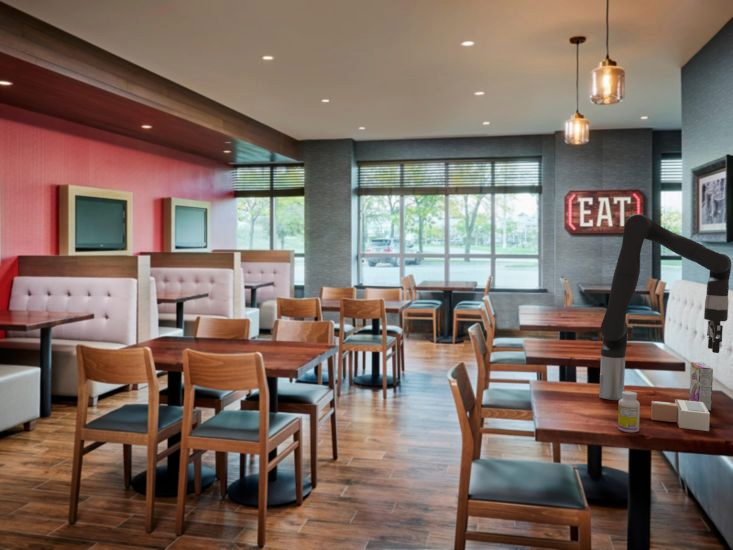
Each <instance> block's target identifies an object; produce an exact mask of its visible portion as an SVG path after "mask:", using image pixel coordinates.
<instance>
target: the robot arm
mask: <svg viewBox="0 0 733 550" xmlns="http://www.w3.org/2000/svg"><path fill="white" fill-rule="evenodd" d="M645 240H647V241H651V242H654V243H656V244H659V245H661V246H663V247H664V248H666V249H668V250H669V251H671V252H672V253H675V254H676V255H678V256H681V257H682V258H685V259H686V260H689V261H691V262H693V263H697V264H698V265H700V266H701V267H703V268H705V269H707V270H709V279H708V281H707V284H706V294H705V295H706V296H705V300H704V312H703V313H704V314H703V319H704V320H706V321H707V329H706V330H707V333H706V336H707V348H708V349H710V350H711V351H712V353H713V354H719V353H720V347H721V343H722V342H723V331H724V330H723V328H724V326H723V325H722V324H721V322H727V321H728V314H729V289H730V285H729V284H730V283H729V281H730V277H731V271H732V260H731V258H730V257H729V255H727V254H725V253H719V252H718V251H714V250H712V249H710V248H708V247H707V246H705V245H703V244H701V243H700V242H697V241H694V240H692V239H690V238H689V237H685V236H683V235H680V234H678V233H676V232H673V231H671V230H668V229H666V228H665V227H663V226H661V225H660V224H658V223H657V222H655V221H653V220H652V219H651V218H649V217H648V216H647V215H645V214H640V213H636V214H632V215H630V216H629V217H628V218H627V219H626V221H625V223H624V227H623V234H622V242H621V243H622V244H621V248H620V251H619V255H618V258H617V262H616V264H615V265H616V266H615V269H614V272H613V276H612V281H611V286H610V292H609V298H608V304H607V307H606V310H605V314H604V317H603V319H602V322H601V324H600V333H601V335H602V345H601V349H600V373H599V398H600V399H605V400H611V401H619V400H620V399H622V398H623V397H622V392H623V391H625V375H626V372H625V371H626V351H627V347H628V345H627V344H628V343H627V342H628V324H627V321H626V316H627V310H628V307H629V305H630V303H631V301H632V299H633V297H634V295H635V291H636V289H637V285H638V282H639V277H640V273H641V252H642V247H643V244H644V241H645Z"/></svg>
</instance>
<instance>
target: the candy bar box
mask: <svg viewBox="0 0 733 550" xmlns="http://www.w3.org/2000/svg"><path fill="white" fill-rule="evenodd" d="M713 373H714V369H713V367H711V366H709V365H707V364H706V363H704V362H697V361H696V362H694V361H691V362H690V373H689V374H690V375H689V376H690V377H689V380H690V381H689V400H688V401H696V402H703V403H704V405H705V407H706V408H707V410H708V411H712V403H713V401H712V400H713V399H712V398H713V375H714V374H713Z"/></svg>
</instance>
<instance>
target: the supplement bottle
mask: <svg viewBox="0 0 733 550" xmlns="http://www.w3.org/2000/svg"><path fill="white" fill-rule="evenodd" d="M622 397H623V398H622V399H620V400H618V407H617V409H618V410H617V411H618V412H617V429H618V430H620V431H622V432H623V433H624V432H625V433H638V432H639V430H640V414H641V413H640V410H641V404H640V402H639V400H637V397H638V393H637V392H635V391H630V390H628V391H627V390H624V391H623V392H622Z"/></svg>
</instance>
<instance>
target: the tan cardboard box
mask: <svg viewBox="0 0 733 550" xmlns="http://www.w3.org/2000/svg"><path fill="white" fill-rule="evenodd" d="M650 401H651V402H650V405H651V408H650V409H651V410H650V419H651V420H652V421H662V422H669V423H670V422H671V423H672V422H673V423H677V404H676V403H675V402H666V401H655V400H650Z"/></svg>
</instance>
